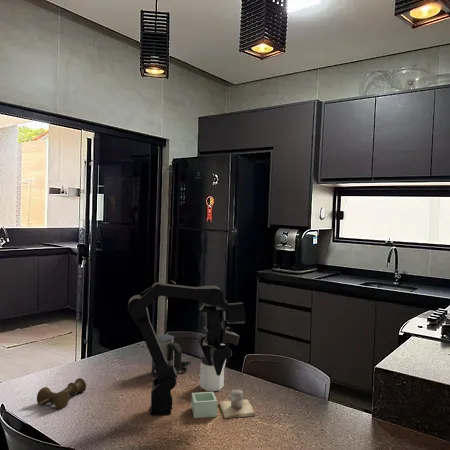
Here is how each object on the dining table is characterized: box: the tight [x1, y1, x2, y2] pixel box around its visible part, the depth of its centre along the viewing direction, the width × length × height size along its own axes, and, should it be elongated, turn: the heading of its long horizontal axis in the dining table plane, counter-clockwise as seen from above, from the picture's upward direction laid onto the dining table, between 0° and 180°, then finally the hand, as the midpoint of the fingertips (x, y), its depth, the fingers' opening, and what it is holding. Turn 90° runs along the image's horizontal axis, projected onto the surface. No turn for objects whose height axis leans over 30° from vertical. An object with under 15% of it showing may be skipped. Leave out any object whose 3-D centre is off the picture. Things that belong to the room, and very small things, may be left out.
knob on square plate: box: [218, 389, 256, 419], centre depth 143 cm, size 10×10×6 cm
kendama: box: [36, 377, 87, 411], centre depth 147 cm, size 6×10×20 cm
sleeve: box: [190, 391, 218, 419], centre depth 141 cm, size 7×7×5 cm
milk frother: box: [150, 334, 192, 378], centre depth 177 cm, size 14×16×15 cm
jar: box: [199, 353, 225, 392], centre depth 162 cm, size 9×8×12 cm
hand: (214, 370), depth 144 cm, fingers open, 9 cm apart
